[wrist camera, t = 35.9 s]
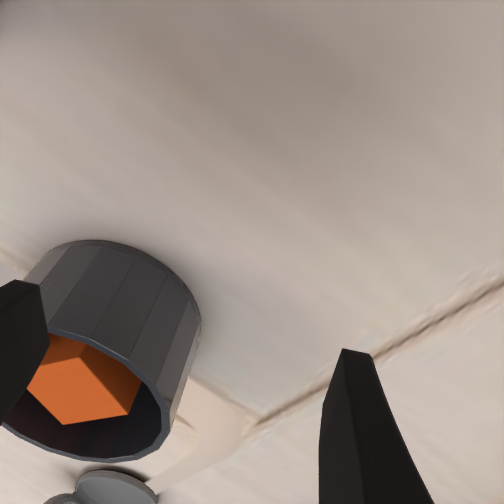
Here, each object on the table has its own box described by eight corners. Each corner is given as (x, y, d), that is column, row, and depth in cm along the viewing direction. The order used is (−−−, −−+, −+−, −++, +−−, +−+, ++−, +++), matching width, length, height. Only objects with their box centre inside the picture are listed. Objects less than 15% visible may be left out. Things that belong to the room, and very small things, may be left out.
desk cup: (1, 300, 27) (-73, 385, 22) (92, 204, 22) (24, 286, 17) (133, 390, 30) (94, 482, 25) (238, 324, 25) (214, 421, 20)
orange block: (103, 349, 27) (62, 425, 23) (61, 299, 25) (10, 372, 21) (160, 337, 26) (128, 414, 22) (121, 283, 24) (78, 357, 20)
